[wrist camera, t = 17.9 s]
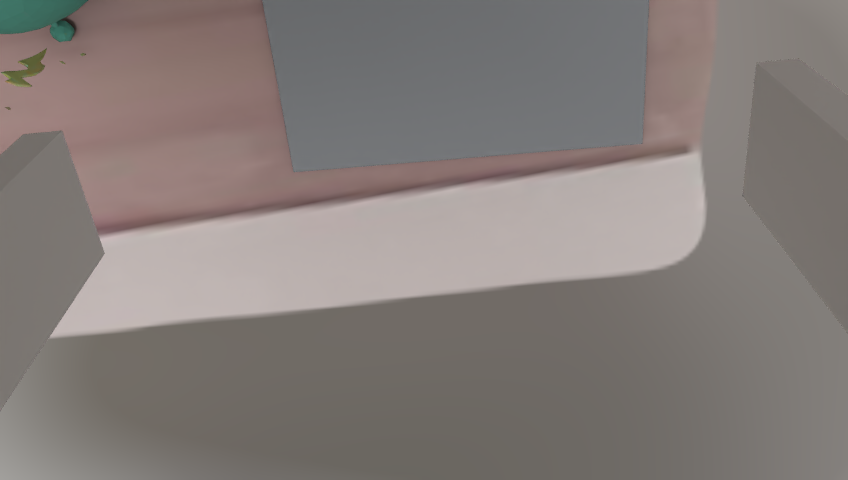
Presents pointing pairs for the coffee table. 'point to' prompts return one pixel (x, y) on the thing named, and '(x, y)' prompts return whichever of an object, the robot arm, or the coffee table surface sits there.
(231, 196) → the coffee table surface
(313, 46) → the mat
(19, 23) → the toy
